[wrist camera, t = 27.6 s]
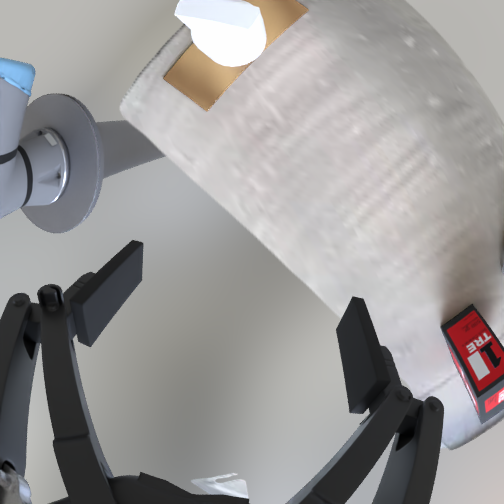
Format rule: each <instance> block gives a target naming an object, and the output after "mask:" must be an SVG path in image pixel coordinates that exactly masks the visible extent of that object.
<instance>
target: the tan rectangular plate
mask: <svg viewBox="0 0 504 504" xmlns="http://www.w3.org/2000/svg"><path fill="white" fill-rule="evenodd" d="M243 1H246V2H249V3H250V4H252V5H253V6H256V7H259V8H260V13H261V16H262V18H263V21H264V26H265V31H266V45H265V48H264V50H265V49H266V48H267V47H268V46H269V45H270V44H271V43H272V42H273V41H275V40H276V39H277V38H278V37H279V36H280V35H281V34H282V33H283V32H284V31H285V30H287V29H288V28H289V27H290V26H291V25H292V24H293V23H294V22H296V21H297V20H298V19H299V18H300V17H301V16H303V15H304V14H305V13H306V12H307V11H309V10H308V9H307V8H306V7H304V6H303V5H301V4H300V3H298V2H297V1H295V0H243ZM264 50H263V51H264ZM263 51H262V52H263ZM253 61H254V60H253ZM253 61H251V62H250V63H248V64H245V65H241V66H234V67H230V66H223V65H221V64H218V63H216V62H214V61H213V60H212V59H211V58H209V57H208V56H207V55H206V54H205V53H203V52H202V51H201V50H200V49H198V47H197V46H196V45H195V43H193V44H192V45H191V46H190V47H189V48H188V49H187V50H186V52H185V53H184V54H183V55H182V56H181V57H180V59H179V60H178V61H177V62H176V63H175V65H174V66H173V67H172V68H171V69H170V71H169V72H168V73H167V74H166V76H165V77H164V78H163V79H164V80H166V81H167V82H168V83H170V84H171V85H172V86H174V87H175V88H177V89H178V90H179V91H181V92H182V93H183V94H185V95H186V96H187V97H189V98H190V99H191V100H193V101H194V102H195V103H196V104H198V105H199V106H200V107H202V108H203V109H204V110H206V111H208V110H209V109H210V108H211V107H212V106H213V104H214V103H215V102H216V101H217V100H218V99H219V98H220V96H221V95H222V94H223V93H224V92H225V91H226V90H227V89H228V87H229V86H230V85H231V84H232V83H233V82H234V81H235V80H236V79H237V78H238V77H239V76H240V74H241V73H242V72H243V71H244V70H245V69H246V68H247V67H248V66H249V65H250V64H251V63H252V62H253Z"/></svg>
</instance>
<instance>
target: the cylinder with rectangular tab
mask: <svg viewBox="0 0 504 504" xmlns="http://www.w3.org/2000/svg"><path fill="white" fill-rule="evenodd" d="M175 15H176V16H177V17H178V18H179V19H180V20H181V21H182V22H183V23H184V24H186V25H187V26H188V27H189V28H190V29H191V36H192V39H193V42H194V43H195V45H196V46H197V47H198V49H200V50H201V51H202V52H203V53H205V54H206V55H207V56H208V57H209V58H211V59H212V60H213V61H214V62H216V63H218V64H221V65H223V66H230V67H234V66H241V65H245V64H248V63H250V62H251V61H253V60H255V59H256V58H257V57H258V56H259V55H260V54H261V53H262V51H263V50H264V48H265V45H266V31H265V26H264V21H263V18H262V16H261V13H260V8H259V7H256V6H253V5H252V4H250V3H249V2H246V1H243V0H180V1H179V3H178V4H177V7H176V10H175Z"/></svg>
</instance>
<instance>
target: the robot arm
mask: <svg viewBox="0 0 504 504" xmlns="http://www.w3.org/2000/svg"><path fill="white" fill-rule="evenodd" d="M34 77H35V68H34V67H33V66H32V65H31V64H28V63H23V62H19V61H15V60H10V59H5V58H0V219H1V218H2V217H4V216H6V215H8V214H10V213H12V212H13V211H15V210H17V209H19V208H21V207H23V206H37V205H48V204H51V203H53V202H55V201H57V200H58V199H59V198H61V196H62V195H63V194H64V192H65V191H66V188H67V186H68V183H69V179H70V171H71V163H70V155H69V151H68V147H67V145H66V143H65V141H64V139H63V137H62V136H61V135H60V134H59V133H58V132H57V131H56V130H54V129H52V128H48V127H46V128H39V129H35V130H33V131H32V132H30V133H29V134H27V135H26V136H24V137H23V138H21V139H20V140H19V138H20V133H21V129H22V124H23V120H24V115H25V111H26V108H27V104H28V100H29V97H30V96H31V88H32V84H33V81H34ZM142 263H143V243H142V242H139V241H134V240H132V241H131V242H130V243H129V244H128V245H126V246H125V247H124V248H123V249H122V250H121V251H120V252H119V253H117V254H116V255H115V256H114V257H113V258H112V259H111V260H110V261H109V262H107V263H106V264H105V265H104V266H103V267H102V268H101V269H100V270H99V271H98V272H97V273H96V274H95V273H92V272H89V273H86V274H84V275H83V276H81V277H80V278H79V279H78V280H77V281H76V282H75V283H74V284H73V285H71V287H69V289H67V290H66V291H65V292H64V293H62V289H61V288H60V287H59V286H58V285H55V284H48V285H45V286H43V287H41V288H40V289H39V290H38V293H37V295H38V300H39V304H37V303H31V301H30V298H29V296H28V295H27V294H25V293H17V294H15V295H13V296H12V297H11V298H10V299H9V301H8V303H7V305H6V307H5V310H4V312H3V314H2V317H1V319H0V504H32V502H31V499H30V497H31V491H30V487H29V484H28V482H27V481H26V480H25V478H24V475H25V468H26V443H27V442H26V441H27V424H28V414H29V404H30V396H31V389H32V382H33V376H34V370H35V365H36V360H37V355H38V351H39V346H40V343H41V345H42V346H41V347H42V361H43V372H44V380H45V388H46V395H47V401H48V407H49V413H50V418H51V423H52V428H53V432H54V437H55V439H54V440H53V447H54V452H55V456H56V459H57V463H58V466H59V469H60V472H61V476H62V478H63V482H64V484H65V487H66V490H67V493H68V497H66V498H63V499H60V500H58V501H55V502H52V503H49V504H249V499H246V498H240V497H233V496H228V495H196V494H191V493H189V492H187V491H185V490H183V489H181V488H179V487H177V486H175V485H174V484H172V483H169V482H168V481H166V480H163V479H160V478H156V477H154V476H150V475H148V474H145V473H142V472H140V475H139V476H132V475H126V476H118V477H113V474H112V472H111V470H110V468H109V466H108V464H107V462H106V459H105V457H104V455H103V452H102V449H101V447H100V444H99V441H98V438H97V435H96V432H95V429H94V426H93V423H92V420H91V416H90V413H89V409H88V406H87V402H86V398H85V395H84V391H83V387H82V383H81V378H80V373H79V369H78V364H77V359H76V353H75V348H74V342H73V338H74V336H75V335H76V334H77V338H78V342H80V343H82V344H84V345H86V346H89V347H91V346H92V345H93V343H94V342H95V341H96V339H97V338H98V336H99V335H100V334H101V332H102V331H103V330H104V328H105V327H106V326H107V324H108V323H109V321H110V320H111V319H112V317H113V316H114V315H115V314H116V312H117V311H118V310H119V309H120V307H121V306H122V304H123V303H124V302H125V301H126V299H127V298H128V297H129V296H130V295H131V293H132V292H133V291H134V289H135V288H136V287H137V286H138V284H139V283H140V282H141V281H142ZM336 332H337V338H338V343H339V349H340V354H341V359H342V365H343V372H344V378H345V384H346V391H347V397H348V403H349V412H350V413H357V414H363V413H364V412H365V411H366V410H367V409H368V408H369V412H370V414H369V415H368V416H367V417H366V418H365V419H364V420H363V421H362V422H361V423H360V426H359V427H358V429H357V430H356V431H355V432H354V434H353V435H352V436H351V437H350V438H349V440H348V441H347V442H346V443H345V444H344V445H343V447H342V448H341V449H340V450H339V451H338V452H337V453H336V455H335V456H334V457H333V458H332V459H331V460H330V461H329V462H328V463H327V464H326V465H325V467H323V469H322V470H321V471H320V472H319V473H318V474H317V475H316V476H315V477H314V478H313V479H312V480H311V481H310V482H309V483H308V484H307V485H306V486H304V487H303V489H301V490H300V491H299V492H298V493H297V494H296V495H295V496H294V497H292V498H291V499H290V500H289V501H288V502H287V503H286V504H345V503H346V502H347V500H348V499H349V498H350V497H351V496H352V494H353V493H354V492H355V491H356V489H357V488H358V487H359V485H360V484H361V483H362V482H363V480H364V479H365V478H366V476H367V475H368V473H369V472H370V471H371V469H372V468H373V466H374V465H375V463H376V462H377V461H378V459H379V458H380V456H381V455H382V453H383V452H384V450H385V449H386V447H387V446H388V444H389V442H390V441H391V439H392V437H393V436H394V434H395V433H396V434H395V438H394V442H393V445H392V449H391V452H390V455H389V458H388V462H387V465H386V468H385V471H384V474H383V476H382V479H381V482H380V485H379V488H378V490H377V492H376V495H375V497H374V500H373V502H372V504H429V502H430V498H431V494H432V490H433V485H434V481H435V476H436V471H437V465H438V459H439V453H440V446H441V438H442V429H443V417H444V406H443V404H442V402H441V401H440V400H439V399H438V398H436V397H433V396H431V397H428V398H427V399H426V400H425V401H421V400H418V399H415V398H413V395H412V393H411V391H410V390H409V389H408V388H406V387H404V386H402V385H401V381H400V378H399V375H398V372H397V369H396V367H395V363H394V362H393V357H392V354H391V352H390V351H389V350H388V349H387V347H386V346H380V344H379V341H378V338H377V335H376V332H375V329H374V326H373V323H372V321H371V318H370V315H369V312H368V310H367V307H366V304H365V302H364V299H362V298H358V297H354V296H353V297H352V299H351V301H350V303H349V305H348V307H347V309H346V311H345V313H344V315H343V317H342V319H341V321H340V323H339V325H338V327H337V329H336Z"/></svg>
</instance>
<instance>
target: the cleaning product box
mask: <svg viewBox="0 0 504 504" xmlns="http://www.w3.org/2000/svg"><path fill="white" fill-rule="evenodd" d="M441 330H442V332H443V335H444V337H445V340H446V342H447V345H448V348H449V350H450V353H451V356H452V358H453V361H454V364H455V366H456V368H457V370H458V372H459V374H460V376H461V378H462V380H463V382H464V385H465V387H466V389H467V391H468V393H469V396H470V398H471V400H472V402H473V405H474V407H475V409H476V412H477V414H478V417H479V419H480V422H481V424H483V423H484V422H486V421H487V420H489V419H490V418H492V417H493V416H495V415H496V414H498V413H499V412H500V411H502V410H503V409H504V347H503V346H502V344H501V343H500V341H499V340H498V338H497V337H496V335H495V334H494V332H493V331H492V330H491V328H490V327H489V325H488V324H487V323H486V321H485V320H484V319H483V317H482V316H481V315H480V313H479V312H478V311H477V309H476V308H475V307H474V305H473V304H472V305H470V306H469V307H468V308H466V309H465V310H464V311H463V312H461V313H460V314H459V315H457V316H456V317H454V318H453V319H452V320H450V321H449V322H447V323H446V324H445V325H443V326H442V327H441Z"/></svg>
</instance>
